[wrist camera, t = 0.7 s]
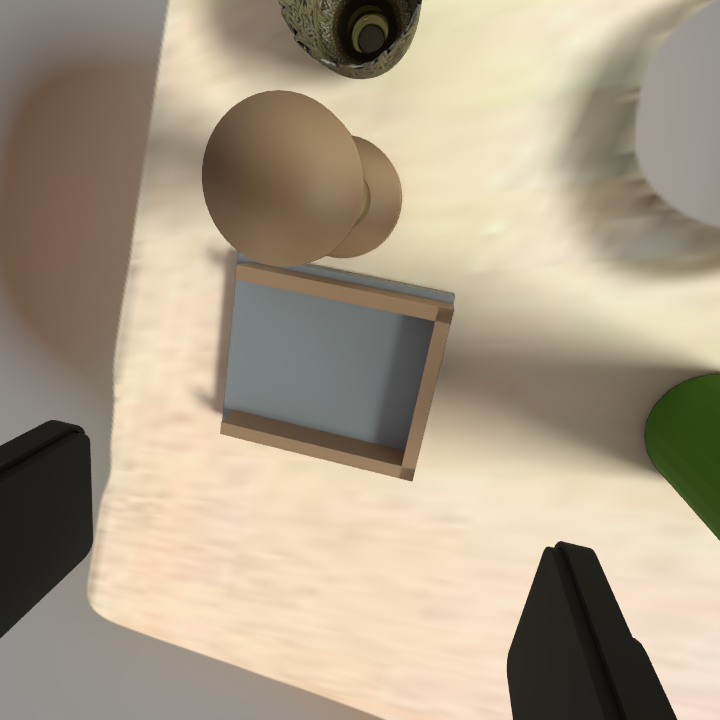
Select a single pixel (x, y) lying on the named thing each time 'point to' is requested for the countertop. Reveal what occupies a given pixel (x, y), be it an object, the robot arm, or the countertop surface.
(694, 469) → the wine bottle
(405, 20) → the cup
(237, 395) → the wooden tray
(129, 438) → the countertop surface
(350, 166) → the bobbin post
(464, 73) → the countertop surface
